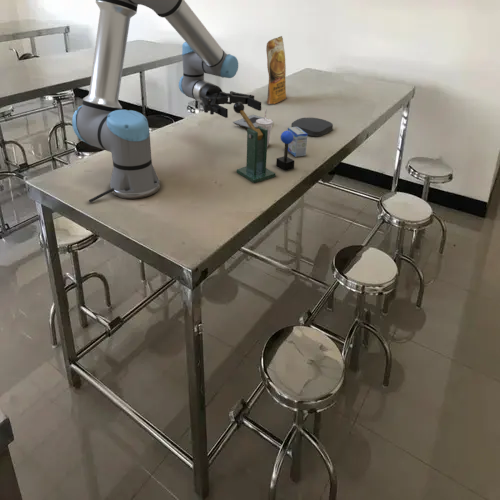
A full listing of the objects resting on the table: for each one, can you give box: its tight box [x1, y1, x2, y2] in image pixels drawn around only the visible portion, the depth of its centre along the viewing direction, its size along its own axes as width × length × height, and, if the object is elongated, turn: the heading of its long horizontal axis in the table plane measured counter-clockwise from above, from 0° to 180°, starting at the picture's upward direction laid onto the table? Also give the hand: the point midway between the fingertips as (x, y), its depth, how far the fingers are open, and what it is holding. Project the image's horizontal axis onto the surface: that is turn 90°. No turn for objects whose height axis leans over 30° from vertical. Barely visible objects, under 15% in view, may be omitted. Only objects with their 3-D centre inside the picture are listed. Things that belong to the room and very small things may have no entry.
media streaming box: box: [290, 117, 334, 137], centre depth 201 cm, size 15×15×3 cm
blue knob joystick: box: [275, 130, 295, 172], centre depth 166 cm, size 4×5×13 cm
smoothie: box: [256, 108, 274, 148], centre depth 182 cm, size 6×6×14 cm
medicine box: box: [287, 126, 309, 158], centre depth 179 cm, size 8×4×9 cm, turn 23°
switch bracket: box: [236, 126, 276, 184], centre depth 160 cm, size 10×9×16 cm
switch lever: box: [232, 102, 263, 140], centre depth 158 cm, size 15×4×4 cm
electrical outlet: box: [232, 114, 268, 129], centre depth 203 cm, size 13×10×2 cm
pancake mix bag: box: [265, 35, 287, 105], centre depth 227 cm, size 7×19×28 cm, turn 149°
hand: (244, 110), depth 158 cm, fingers open, 13 cm apart
